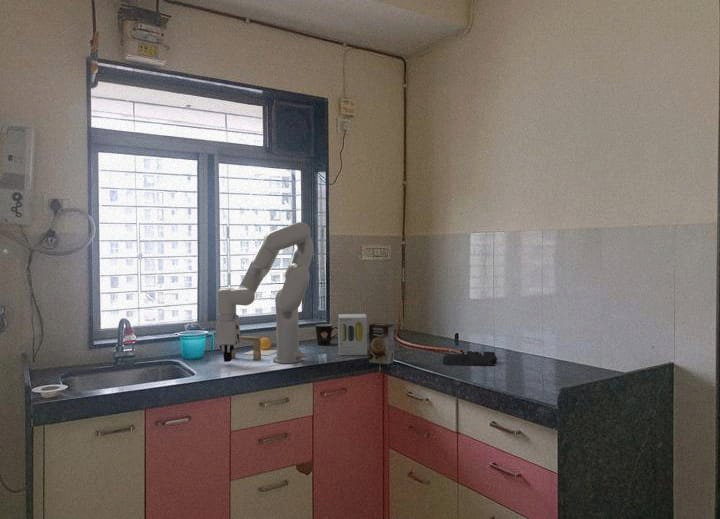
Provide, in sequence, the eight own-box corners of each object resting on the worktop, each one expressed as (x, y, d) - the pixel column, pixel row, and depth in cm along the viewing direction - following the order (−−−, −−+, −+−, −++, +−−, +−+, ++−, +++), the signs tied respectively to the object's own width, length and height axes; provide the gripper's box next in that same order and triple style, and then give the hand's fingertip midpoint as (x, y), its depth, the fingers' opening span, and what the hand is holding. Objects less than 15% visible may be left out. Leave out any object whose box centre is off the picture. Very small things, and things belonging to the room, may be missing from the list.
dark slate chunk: (442, 359, 227) (442, 348, 227) (494, 360, 224) (494, 349, 224) (443, 367, 212) (443, 355, 212) (498, 368, 209) (498, 356, 208)
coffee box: (368, 362, 219) (368, 324, 219) (375, 359, 225) (374, 322, 225) (388, 364, 215) (387, 325, 215) (394, 361, 221) (394, 323, 221)
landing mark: (280, 350, 250) (280, 350, 250) (267, 355, 238) (267, 355, 238) (256, 349, 254) (256, 348, 254) (242, 354, 242) (242, 353, 242)
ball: (273, 348, 255) (273, 336, 254) (267, 351, 249) (267, 338, 249) (263, 348, 257) (262, 336, 256) (256, 350, 251) (256, 338, 251)
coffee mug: (312, 345, 262) (312, 326, 262) (319, 343, 271) (318, 323, 270) (334, 346, 259) (334, 326, 259) (340, 343, 267) (340, 324, 267)
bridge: (231, 357, 235) (231, 335, 235) (260, 358, 230) (260, 337, 230) (227, 358, 232) (227, 336, 232) (257, 360, 227) (257, 338, 227)
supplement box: (338, 355, 235) (337, 317, 235) (338, 350, 249) (338, 314, 248) (367, 355, 236) (367, 316, 236) (366, 350, 249) (365, 313, 249)
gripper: (247, 317, 220) (248, 360, 220) (217, 316, 224) (217, 358, 225) (237, 319, 213) (238, 364, 213) (206, 318, 217) (207, 362, 217)
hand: (227, 361), depth 219 cm, fingers closed
